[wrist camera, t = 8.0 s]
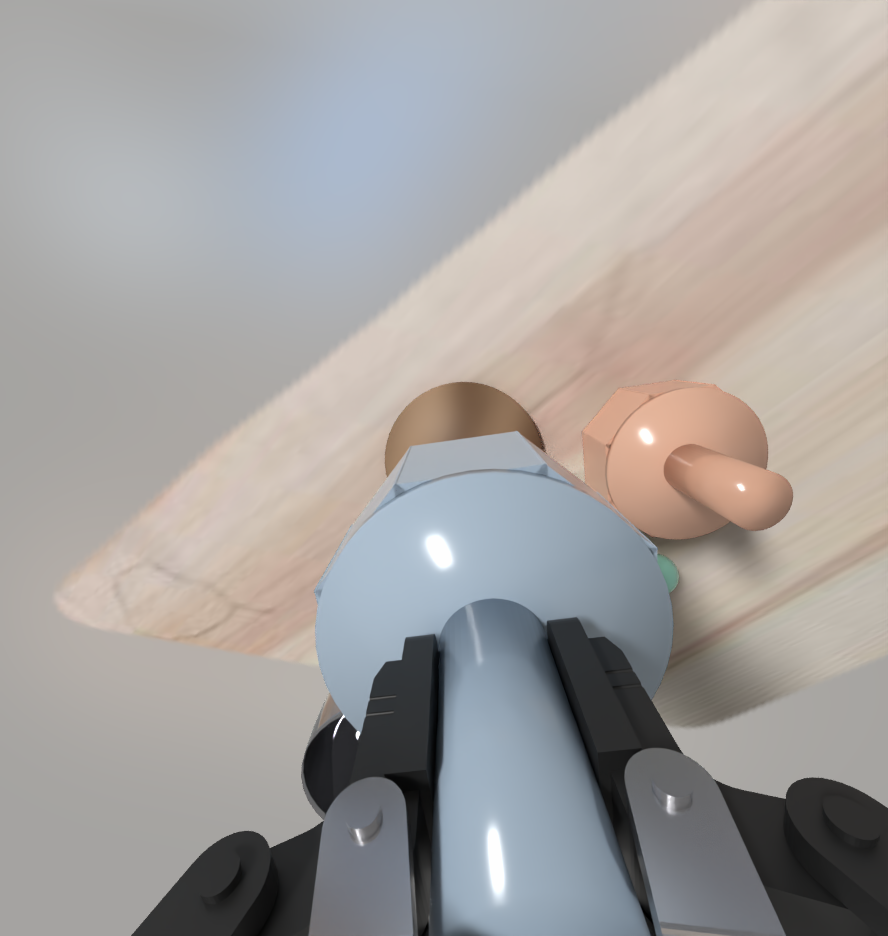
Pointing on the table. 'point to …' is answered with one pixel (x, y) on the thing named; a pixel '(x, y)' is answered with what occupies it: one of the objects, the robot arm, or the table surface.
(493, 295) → the table surface
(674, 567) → the marble seagreen
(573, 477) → the slate cloche
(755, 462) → the terracotta cloche
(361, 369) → the table surface
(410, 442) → the disc
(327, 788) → the wine glass
